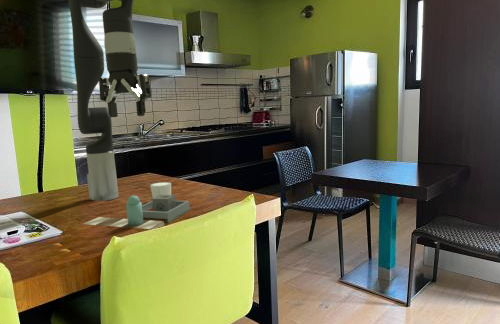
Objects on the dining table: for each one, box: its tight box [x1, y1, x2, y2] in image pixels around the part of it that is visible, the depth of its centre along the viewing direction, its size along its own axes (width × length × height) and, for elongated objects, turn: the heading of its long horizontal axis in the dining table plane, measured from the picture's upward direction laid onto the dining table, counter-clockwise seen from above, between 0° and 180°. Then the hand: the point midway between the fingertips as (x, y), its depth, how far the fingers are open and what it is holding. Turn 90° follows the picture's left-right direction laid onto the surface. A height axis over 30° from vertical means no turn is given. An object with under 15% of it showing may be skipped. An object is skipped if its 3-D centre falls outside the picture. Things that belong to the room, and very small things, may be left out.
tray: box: [142, 200, 191, 224], centre depth 112 cm, size 12×12×3 cm
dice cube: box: [151, 194, 177, 212], centre depth 112 cm, size 5×5×5 cm
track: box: [83, 216, 165, 230], centre depth 103 cm, size 22×7×1 cm, turn 71°
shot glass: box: [149, 181, 172, 199], centre depth 125 cm, size 7×7×7 cm
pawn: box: [125, 195, 144, 226], centre depth 101 cm, size 4×4×8 cm
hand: (127, 116), depth 98 cm, fingers open, 8 cm apart
